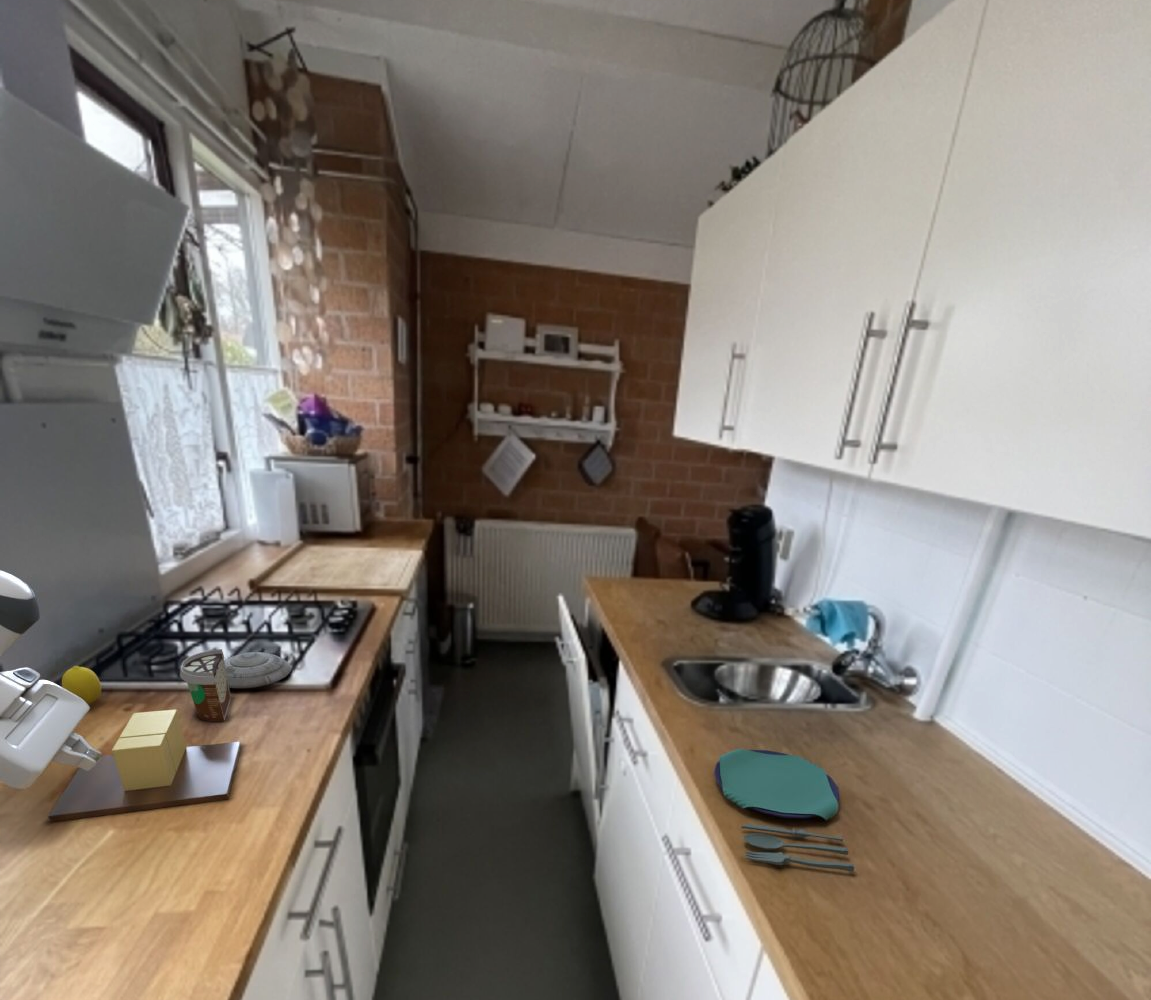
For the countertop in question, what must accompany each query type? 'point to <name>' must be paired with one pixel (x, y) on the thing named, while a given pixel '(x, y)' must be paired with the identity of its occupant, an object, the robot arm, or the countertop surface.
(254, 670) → the flying saucer
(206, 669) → the food container
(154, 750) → the butter slice
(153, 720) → the butter block
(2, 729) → the robot arm
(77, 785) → the butter board
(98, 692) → the lemon
